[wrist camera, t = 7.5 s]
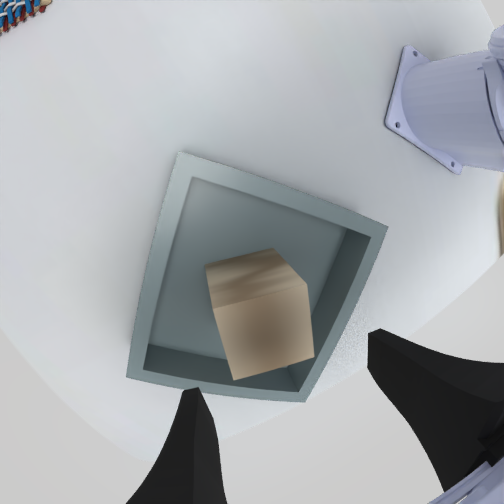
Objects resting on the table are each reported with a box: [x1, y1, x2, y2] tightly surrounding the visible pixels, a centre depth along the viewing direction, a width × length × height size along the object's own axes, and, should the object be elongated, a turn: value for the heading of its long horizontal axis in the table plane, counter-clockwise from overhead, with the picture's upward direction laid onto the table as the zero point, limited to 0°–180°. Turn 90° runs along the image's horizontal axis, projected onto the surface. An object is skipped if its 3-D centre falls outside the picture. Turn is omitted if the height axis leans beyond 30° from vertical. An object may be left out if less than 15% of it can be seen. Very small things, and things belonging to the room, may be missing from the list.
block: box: [205, 248, 314, 380], centre depth 17 cm, size 4×4×6 cm
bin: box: [126, 151, 388, 402], centre depth 19 cm, size 13×14×4 cm
